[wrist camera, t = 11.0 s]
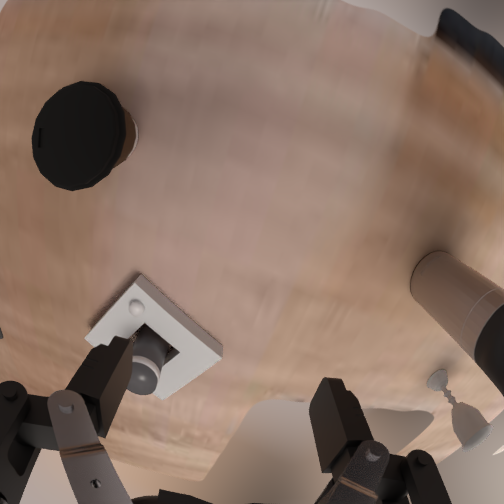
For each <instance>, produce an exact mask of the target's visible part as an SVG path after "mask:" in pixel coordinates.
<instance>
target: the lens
mask: <svg viewBox="0 0 504 504" xmlns="http://www.w3.org/2000/svg"><path fill="white" fill-rule="evenodd" d="M169 345H170V344H169V343H168V342H167V341H166V340H165V339H163V338H162V337H161V336H160V335H159V334H157V333H156V332H155V331H154V330H153V329H152V328H150V327H149V326H148V325H146V326H144V327H142V328H141V330H140V332H139V334H138V336H137V338H136V340H135V342H134V344H133V361H132V374H131V378H130V381H129V384H128V386H127V388H126V389H128V390H129V391H131V392H133V393H135V394H139V395H148V394H151V393H153V392H154V391H155V389H156V387H157V385H158V383H159V379H160V373H161V370H162V367H163V364H164V361H165V358H166V354H167V351H168V348H169Z"/></svg>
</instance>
